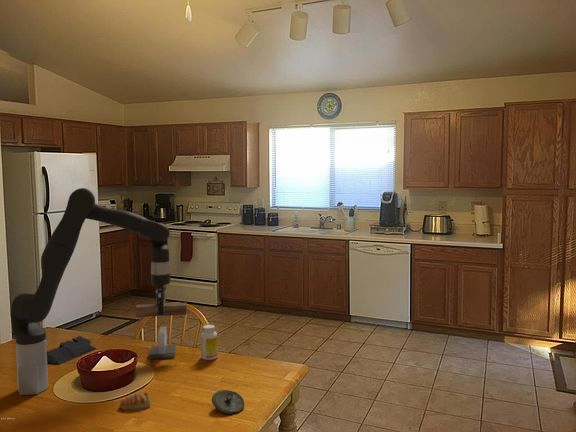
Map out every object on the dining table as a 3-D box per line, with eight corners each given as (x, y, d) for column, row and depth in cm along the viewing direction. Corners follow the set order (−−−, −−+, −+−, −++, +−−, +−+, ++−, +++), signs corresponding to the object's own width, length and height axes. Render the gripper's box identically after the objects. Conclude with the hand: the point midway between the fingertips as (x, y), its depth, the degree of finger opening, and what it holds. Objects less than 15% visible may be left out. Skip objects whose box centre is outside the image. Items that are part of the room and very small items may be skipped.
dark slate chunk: (29, 361, 195) (29, 349, 194) (73, 344, 215) (72, 333, 215) (58, 367, 189) (57, 355, 188) (100, 348, 209) (99, 337, 209)
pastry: (121, 414, 151) (120, 402, 151) (118, 405, 157) (118, 393, 157) (152, 407, 155) (151, 396, 155) (148, 399, 161) (148, 388, 161)
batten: (186, 314, 199) (186, 305, 199) (135, 317, 196) (135, 307, 196) (186, 312, 203) (186, 302, 203) (137, 314, 200) (137, 304, 200)
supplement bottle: (221, 356, 198) (220, 325, 197) (210, 361, 193) (209, 330, 192) (208, 353, 202) (208, 323, 201) (197, 358, 196) (197, 327, 195)
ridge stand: (174, 357, 197) (173, 333, 196) (148, 359, 195) (148, 334, 195) (176, 349, 207) (175, 326, 206) (151, 350, 205) (151, 327, 204)
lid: (229, 397, 162) (228, 382, 161) (251, 406, 155) (251, 391, 155) (205, 409, 153) (204, 394, 153) (227, 419, 147) (227, 403, 147)
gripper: (168, 275, 192) (169, 318, 193) (171, 268, 206) (172, 308, 207) (149, 276, 191) (150, 319, 192) (153, 269, 205) (154, 309, 206)
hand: (161, 313), depth 200 cm, fingers closed on batten, 4 cm apart
